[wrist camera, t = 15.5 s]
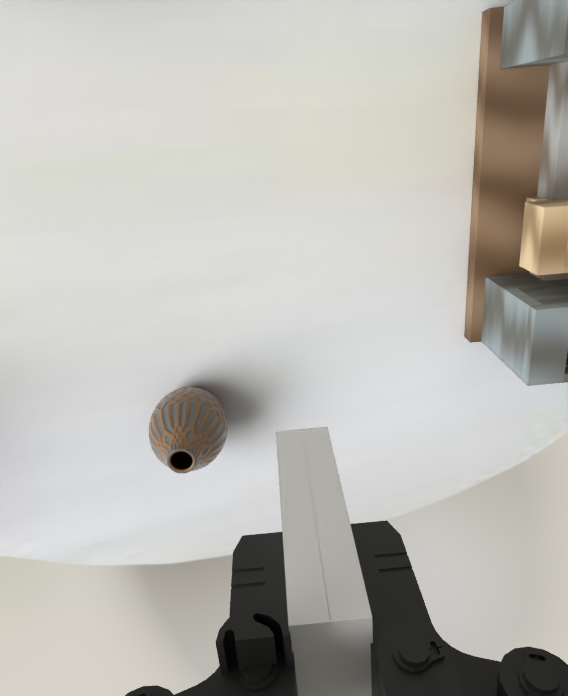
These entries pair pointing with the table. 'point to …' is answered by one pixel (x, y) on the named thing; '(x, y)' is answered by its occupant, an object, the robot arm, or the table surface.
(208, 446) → the vase
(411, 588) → the robot arm
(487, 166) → the rail track
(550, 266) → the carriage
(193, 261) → the table surface
